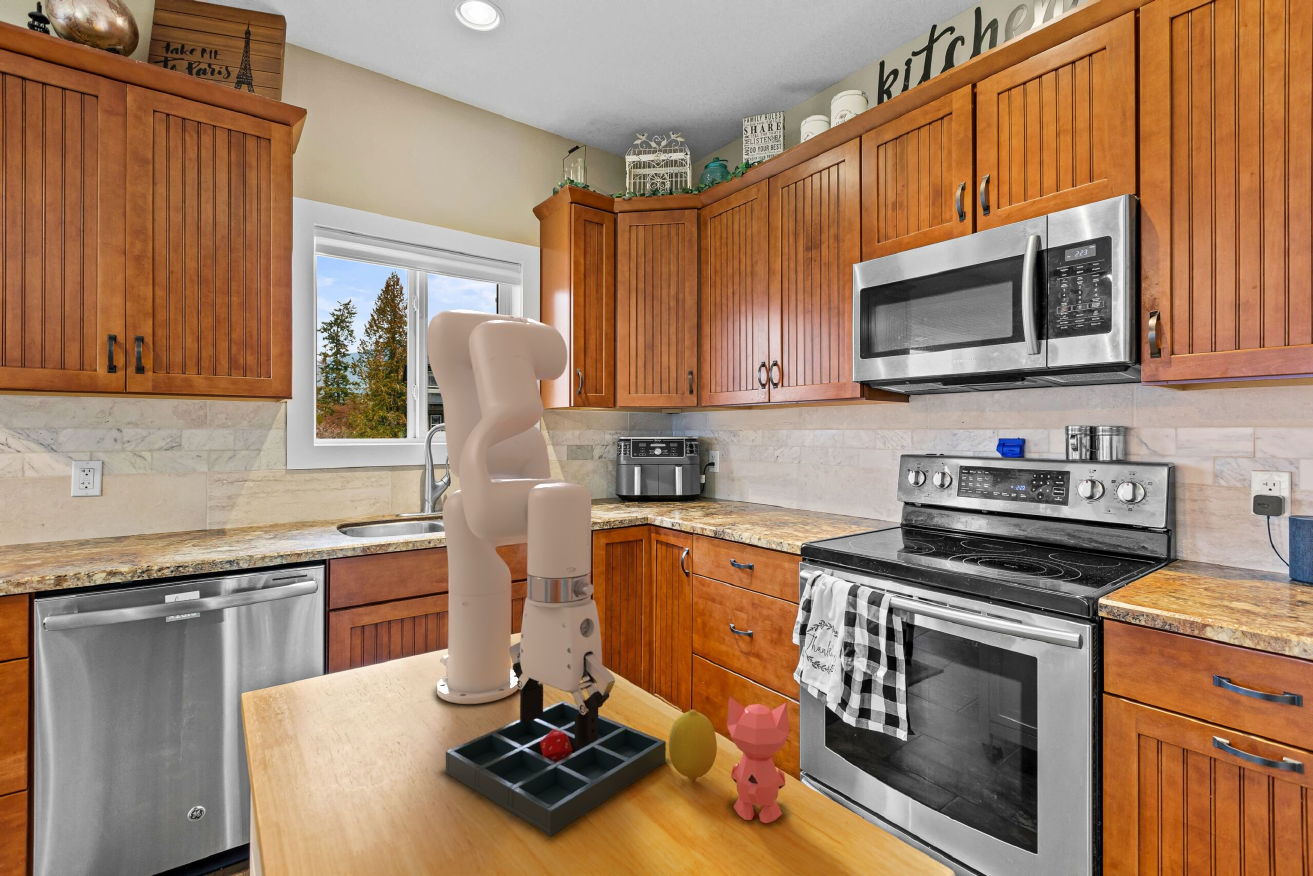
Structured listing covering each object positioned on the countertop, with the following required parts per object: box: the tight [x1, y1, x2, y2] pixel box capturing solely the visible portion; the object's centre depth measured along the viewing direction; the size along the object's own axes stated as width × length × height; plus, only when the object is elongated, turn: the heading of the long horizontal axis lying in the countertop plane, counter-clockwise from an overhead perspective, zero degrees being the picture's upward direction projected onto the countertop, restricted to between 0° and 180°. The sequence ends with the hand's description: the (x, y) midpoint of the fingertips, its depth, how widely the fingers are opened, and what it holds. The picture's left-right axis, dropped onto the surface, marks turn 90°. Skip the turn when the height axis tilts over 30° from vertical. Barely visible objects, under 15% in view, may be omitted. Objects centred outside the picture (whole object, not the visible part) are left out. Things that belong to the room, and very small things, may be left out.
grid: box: [444, 700, 667, 837], centre depth 73 cm, size 18×18×2 cm
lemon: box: [668, 709, 718, 782], centre depth 71 cm, size 6×6×8 cm
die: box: [540, 729, 572, 762], centre depth 73 cm, size 4×3×4 cm
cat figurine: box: [726, 695, 792, 824], centre depth 64 cm, size 7×7×12 cm
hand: (557, 731), depth 73 cm, fingers open, 9 cm apart
